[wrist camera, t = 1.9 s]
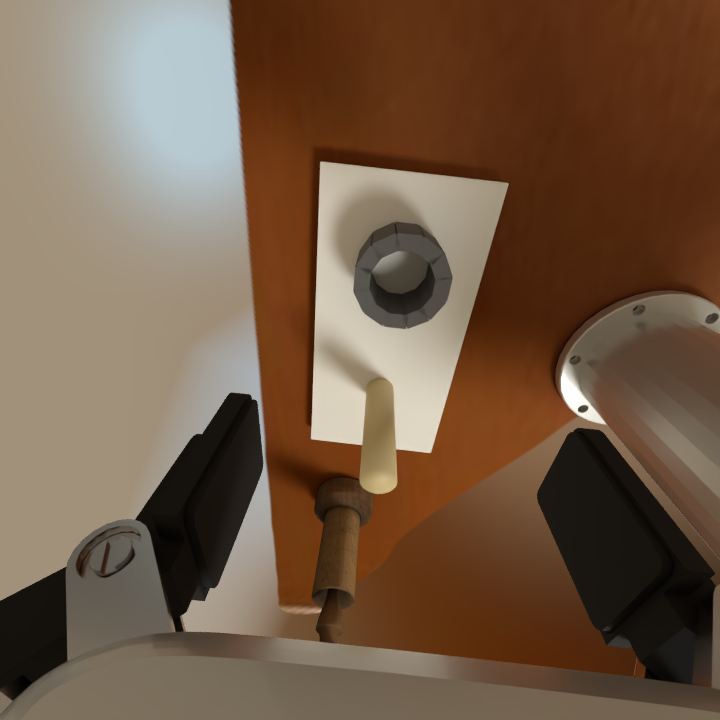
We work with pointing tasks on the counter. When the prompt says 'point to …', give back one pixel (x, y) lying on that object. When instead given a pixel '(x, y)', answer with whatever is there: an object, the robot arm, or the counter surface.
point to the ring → (411, 304)
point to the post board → (395, 275)
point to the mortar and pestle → (338, 550)
